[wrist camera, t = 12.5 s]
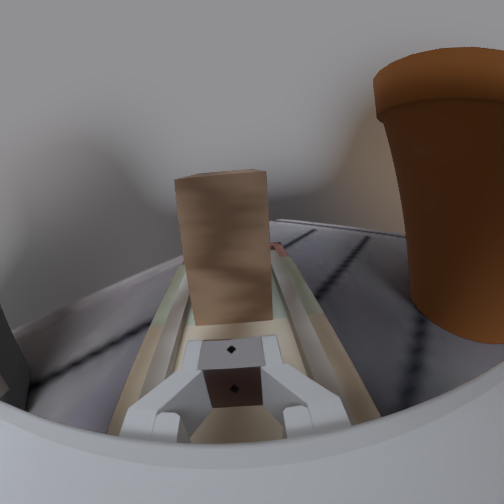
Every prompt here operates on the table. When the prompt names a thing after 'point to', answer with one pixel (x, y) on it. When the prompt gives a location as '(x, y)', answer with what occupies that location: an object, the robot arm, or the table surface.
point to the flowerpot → (450, 182)
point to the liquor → (12, 368)
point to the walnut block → (226, 245)
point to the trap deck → (283, 325)
